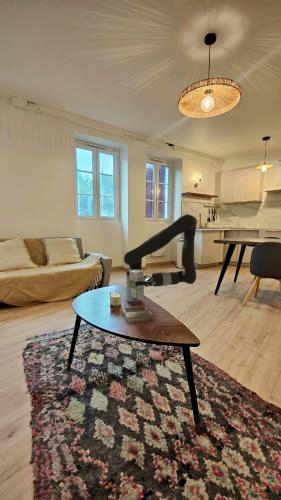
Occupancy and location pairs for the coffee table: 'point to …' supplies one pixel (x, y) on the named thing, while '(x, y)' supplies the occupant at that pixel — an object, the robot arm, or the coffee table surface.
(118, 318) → the coffee table surface
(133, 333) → the coffee table surface
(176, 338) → the coffee table surface
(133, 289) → the syrup box
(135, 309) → the wooden tray
